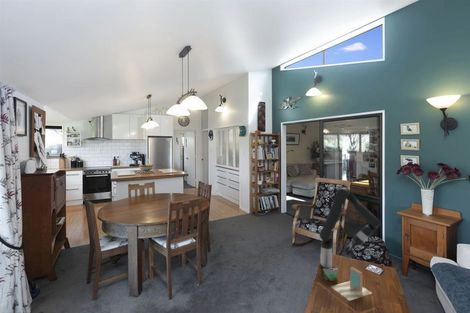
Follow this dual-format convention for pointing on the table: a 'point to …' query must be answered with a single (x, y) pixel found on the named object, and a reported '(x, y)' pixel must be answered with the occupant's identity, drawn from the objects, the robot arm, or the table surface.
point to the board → (350, 291)
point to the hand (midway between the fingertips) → (346, 252)
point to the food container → (330, 273)
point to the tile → (356, 279)
